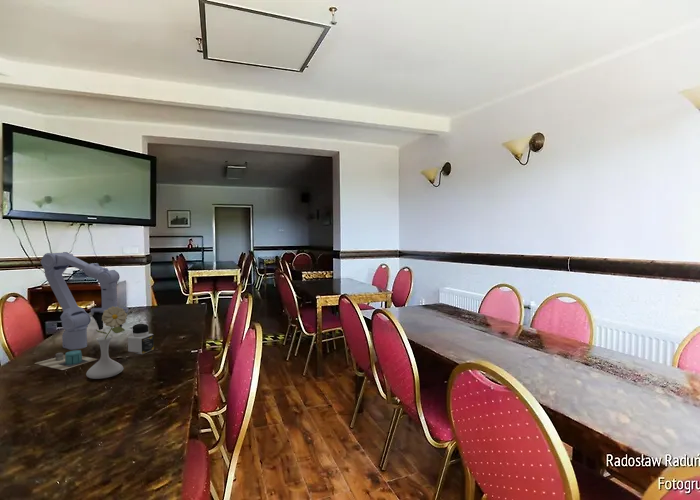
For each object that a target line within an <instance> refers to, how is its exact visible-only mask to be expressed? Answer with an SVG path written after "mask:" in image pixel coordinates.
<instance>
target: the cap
mask: <svg viewBox="0 0 700 500" xmlns="http://www.w3.org/2000/svg"><path fill="white" fill-rule="evenodd" d="M64 355H65V364H67V365H72V364H77V363H80V362H82V356H83V353H82V350H81V349H74V350H70V351H67V352H65V354H64Z"/></svg>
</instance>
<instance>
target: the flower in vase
mask: <svg viewBox="0 0 700 500" xmlns="http://www.w3.org/2000/svg"><path fill="white" fill-rule="evenodd" d="M119 307H120V306H117V307H114V306H112V307H111V308H108V310H105V311H104V312H103V315H102V321H103V324H105V325H104V326H106V327H110V329H109V331H108V332H106V331H102V330H99V329H95V331H96V332H97V333H101V334H105V335H106V336H99V337H97V338H95V340H96V341H97V343H98V345H99V348H100V358H99V359H98V361H96V362H95V363H94V364H93V365H92V366H91V367H90V368H89V369H88V370H87V371H86V373H85V375H86V377H87V378H89V379H93V380H99V379H100V380H101V379H107V378H111V377H115V376H117V375H119V374H120V373H122V372H123V371H124V366H123V364H121V363H119V362H117V361H116V360H114V359H112V358H110V354H109V347H110V346H109V345H110V342H111V340H112V339H113V336H110V335H109V334H110V333H111V331H112V332H113V333H115V334H120V333H123V332H125V331H126V329H125V328H123V327H120V325H122V326H123V325H124V324H126V322H127V317H128V312H127V313H125V311H123V309H122V308H119Z"/></svg>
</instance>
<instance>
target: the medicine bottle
mask: <svg viewBox="0 0 700 500" xmlns="http://www.w3.org/2000/svg"><path fill="white" fill-rule="evenodd" d="M154 345H155V341H154V334H153V333H149V324H147V323H137V324H134V325H133V326H132V335H131V336H130V335H129V336H128V337H127V349H128V350H127V352H131V353H133V354H134V355H145V354H146V353H149V352H151V351H154V350H155V346H154Z"/></svg>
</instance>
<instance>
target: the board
mask: <svg viewBox="0 0 700 500" xmlns="http://www.w3.org/2000/svg"><path fill="white" fill-rule="evenodd" d="M97 360H98V361H99V358H94V357H89V356H83V355H82V362H80V363H77V364H72V365H67V364H65V354H64V352H57V353H55V357H54V358H53V357H52V358H49V359H46V360H42V361H37V362H35V363H34V364H36V365H39V366H44V367H48V368H51V369H56V370H61V371H63V370H64V371H65V370H68V369H70V368H71V369H72V368H74V367H77V366H81V365H84V364H87V363H90V362H94V361H97Z"/></svg>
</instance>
